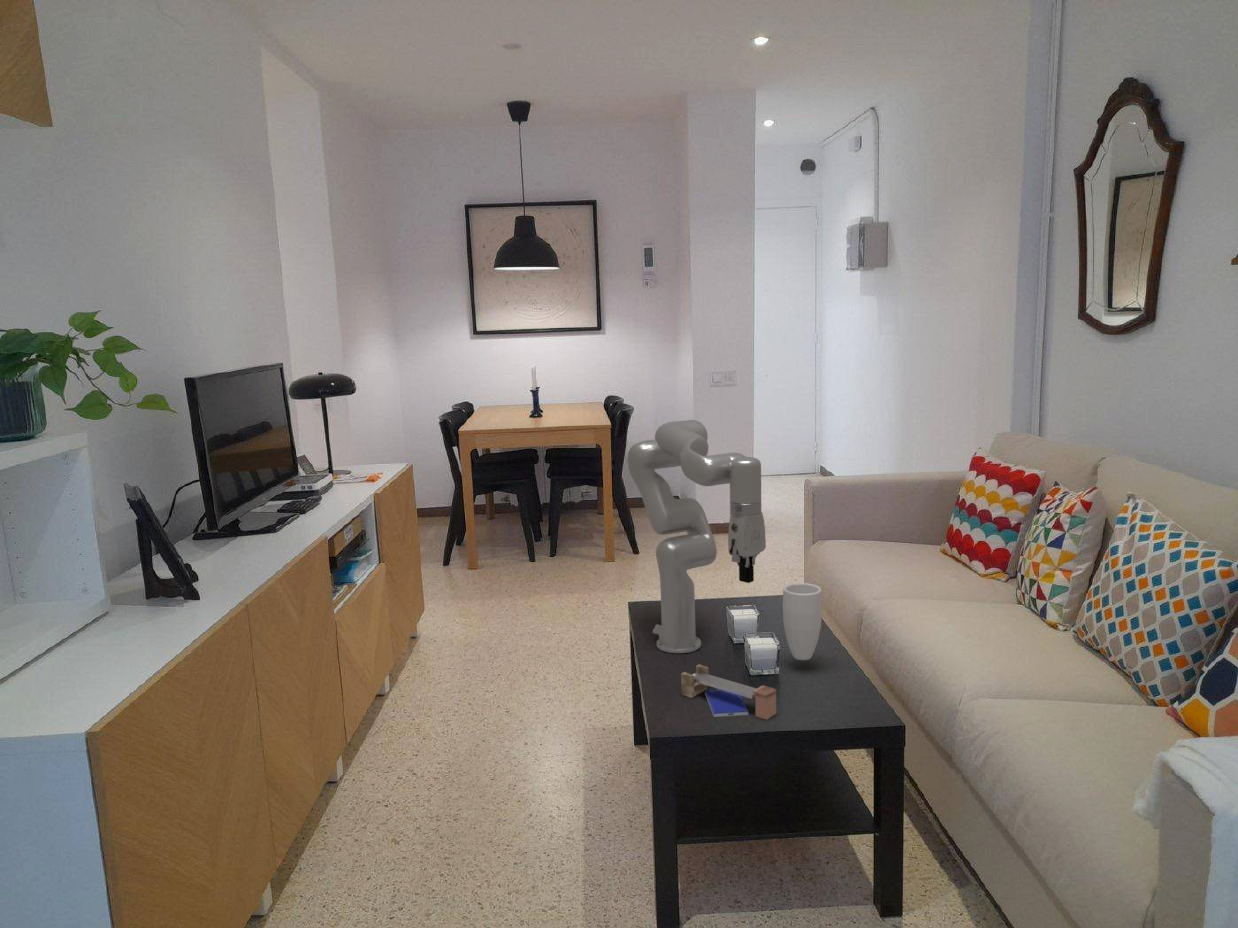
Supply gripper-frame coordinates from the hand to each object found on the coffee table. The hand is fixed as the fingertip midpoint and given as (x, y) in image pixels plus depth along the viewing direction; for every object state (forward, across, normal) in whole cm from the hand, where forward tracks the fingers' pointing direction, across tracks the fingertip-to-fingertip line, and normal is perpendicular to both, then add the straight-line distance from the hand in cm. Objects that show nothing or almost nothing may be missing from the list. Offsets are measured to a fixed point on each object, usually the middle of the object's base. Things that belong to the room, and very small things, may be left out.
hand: (746, 581), depth 205 cm
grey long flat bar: (+24, -11, -1) cm, 26 cm away
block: (+27, -11, -12) cm, 32 cm away
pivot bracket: (+27, -11, +8) cm, 30 cm away
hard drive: (+28, -12, -2) cm, 30 cm away
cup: (+27, +18, -5) cm, 33 cm away
